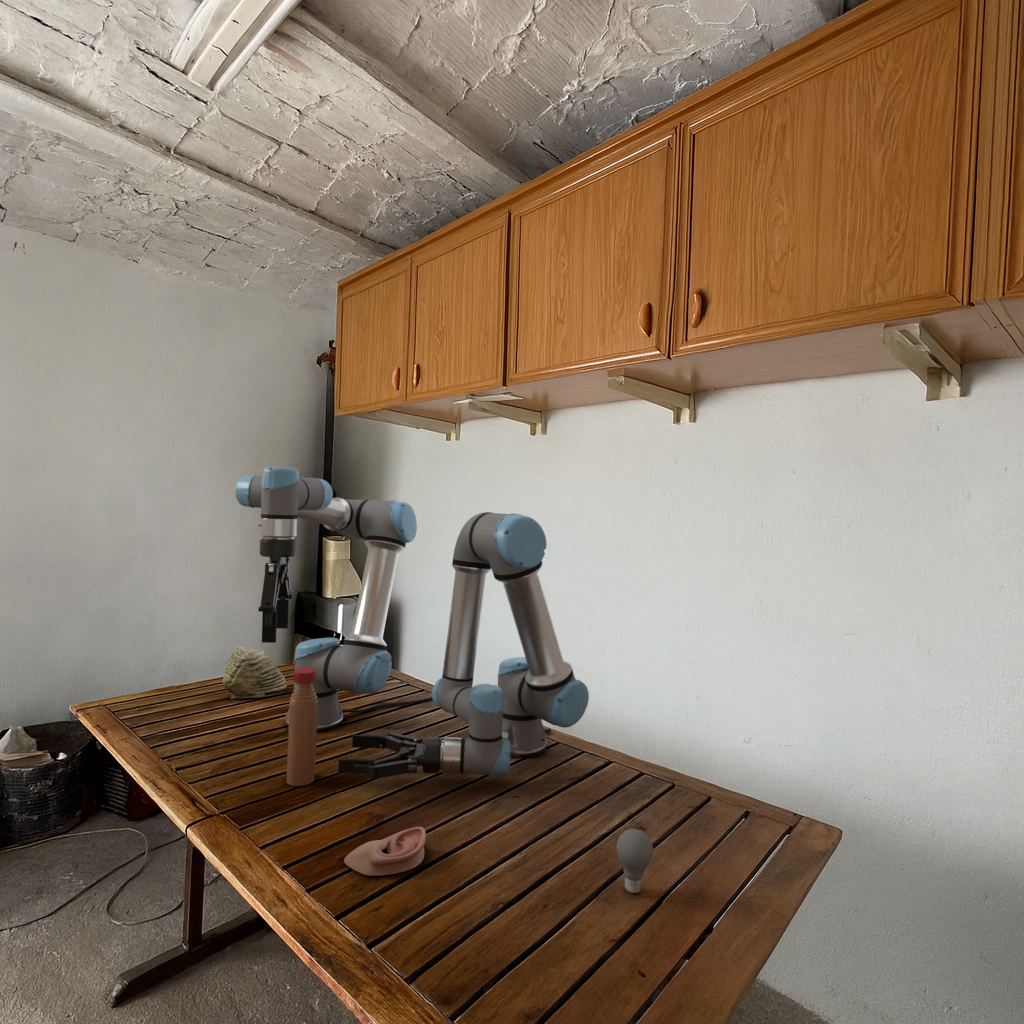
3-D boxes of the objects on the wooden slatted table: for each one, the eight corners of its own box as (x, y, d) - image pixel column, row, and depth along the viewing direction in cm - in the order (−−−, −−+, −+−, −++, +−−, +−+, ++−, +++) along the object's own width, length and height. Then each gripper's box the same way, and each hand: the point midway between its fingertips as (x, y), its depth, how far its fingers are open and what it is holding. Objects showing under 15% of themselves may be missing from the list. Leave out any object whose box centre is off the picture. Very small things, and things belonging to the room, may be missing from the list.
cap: (289, 680, 141) (290, 669, 141) (309, 677, 144) (309, 666, 144) (299, 685, 138) (299, 674, 137) (319, 681, 141) (319, 671, 141)
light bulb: (610, 879, 108) (613, 822, 108) (644, 879, 109) (647, 822, 109) (619, 902, 102) (622, 840, 102) (655, 901, 103) (658, 840, 103)
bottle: (281, 779, 141) (285, 671, 141) (306, 771, 145) (310, 667, 145) (294, 788, 137) (298, 677, 136) (319, 780, 141) (323, 673, 141)
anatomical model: (336, 847, 108) (365, 815, 119) (335, 870, 108) (364, 836, 119) (410, 859, 105) (432, 825, 116) (409, 883, 105) (431, 846, 116)
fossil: (218, 695, 195) (220, 647, 195) (278, 685, 208) (279, 640, 207) (228, 703, 189) (230, 653, 188) (289, 692, 201) (290, 645, 201)
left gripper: (272, 533, 149) (269, 622, 150) (246, 542, 125) (242, 648, 125) (305, 534, 151) (302, 623, 151) (285, 543, 126) (282, 648, 127)
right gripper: (436, 798, 130) (331, 795, 129) (444, 749, 155) (357, 747, 154) (437, 761, 130) (333, 758, 129) (445, 719, 154) (358, 716, 154)
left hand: (275, 635), depth 138 cm, fingers open, 13 cm apart
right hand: (345, 752), depth 141 cm, fingers open, 13 cm apart
